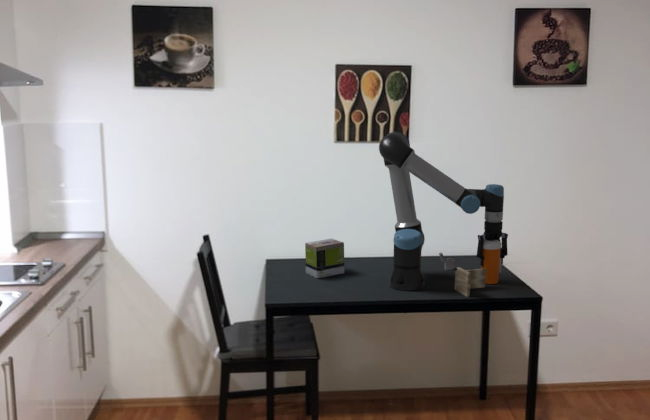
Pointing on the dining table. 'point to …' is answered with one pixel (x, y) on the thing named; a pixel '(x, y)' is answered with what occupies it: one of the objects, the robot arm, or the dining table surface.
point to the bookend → (469, 280)
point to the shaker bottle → (491, 259)
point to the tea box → (324, 258)
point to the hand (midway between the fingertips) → (491, 272)
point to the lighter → (447, 262)
